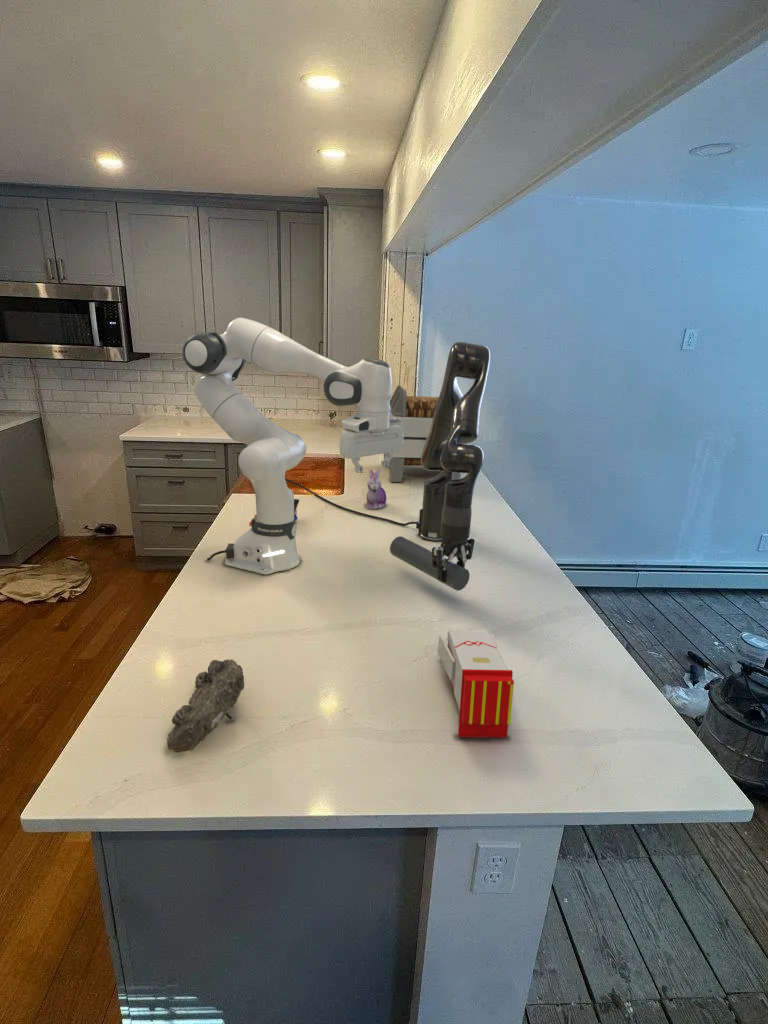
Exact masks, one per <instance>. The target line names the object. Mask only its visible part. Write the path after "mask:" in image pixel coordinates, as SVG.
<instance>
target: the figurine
mask: <svg viewBox="0 0 768 1024" xmlns="http://www.w3.org/2000/svg"><path fill="white" fill-rule="evenodd" d="M380 475H381V468H378V469H377V470H376V471H375V472H373V470H372V469H369V470H368V476H369V479H368V481H367V483H366V485H367V488H368V490H367V491H366V502H365V507H366V508H367V509H370V510H377V509H382V508H384V507H386V503H387V493H386V491H385V489H384V488H383V487H382V481H381V479H380Z"/></svg>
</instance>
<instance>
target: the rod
mask: <svg viewBox="0 0 768 1024" xmlns="http://www.w3.org/2000/svg"><path fill="white" fill-rule="evenodd" d="M389 552H390V554H391V555H392V556H393V557H395V558H398V560H400V561H402V562H404V563H405V564H408V565H410V566H411V567H413V568H415V569H417V570H419V571H420V572H422V573H424V574H426V575H428V576H430V577H431V578H433V579H435V580H437V581H439V580H438V579H437V576H438V569H436V568H434V567H432V550H430V549H428V548H426V547H424V546H421V545H420V544H418V543H415V542H414V541H412V540H410V539H408V538H406V537H404V536H400V535H399V536H397V537H395V538H394V539H393V540H392V541H391V542H390V546H389ZM444 563H445V561H443V563H442V565H444ZM446 570H447V573H446V582H444V583H443V584H444V585H445V586H448V587H449V588H452V589H453V590H455V591H462V590H463V589H465V588H466V586H467V585H468V583H469V581H470V575H471V574H470V571H469V569H467V568H466V567H465V568H463V567H461V566H459V565H457V563H455V562H453V561H451V563H449V564H448V566H447V569H446Z"/></svg>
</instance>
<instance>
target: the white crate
mask: <svg viewBox="0 0 768 1024" xmlns="http://www.w3.org/2000/svg"><path fill="white" fill-rule="evenodd" d="M407 394H408V393H407V390H406V389H404V388H403V387H402V385H399V384H398V385H397V386H396V388H395V390H394V392H393V394H392V395H391V397H390V408H391V414H390V419H395V418H399V419H400V420H401V421H402V423H403V436H404V447H403V449H402V450H401V451H396V452H393V456H392V458H391V460H390V462H389V467H388V468H389V475H388V476H389V477H388V478H389V480H390V482H391V483H402V482H403V475H404V469H405V466H406V467H407V466H411V467H412V466H413V467H415V466H416V467H417V466H418V467H422V464H421V454H422V450H423V447H424V444H425V441H426V439H427V437H428V434H429V431H430V428H431V424H432V420H433V416H434V412H435V408H436V404H437V401H438V398H439V396H415V395H414V396H413V395H412V396H411V395H407ZM399 422H400V421H399ZM447 440H448V439H446V440H445V441H443V442H442V443H446V442H447ZM385 456H386V455H385V454H383V459H384V458H385ZM440 472H441V471H439V473H440ZM461 474H462V473H458V472H453V476H452V480H455V479H461Z"/></svg>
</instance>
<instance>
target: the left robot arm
mask: <svg viewBox="0 0 768 1024" xmlns="http://www.w3.org/2000/svg"><path fill="white" fill-rule="evenodd" d="M181 354H182V358H183V361H184V363H185V364H186V366H187V367H188V368H189V369H190V370H192V371H194V372H196V373H199V374H200V375H201V376H200V378H199V379H198V380H197V382H196V384H195V387H194V394H195V397H196V398H197V400H198V401H199V403H200V405H201V406H202V407H203V409H204V410H205V412H206V413H207V414H208V415H209V416H210V417H211V418H212V419H213V421H214V422H215V423H216V424H217V425H218V426H219V427H220V428H221V429H222V430H223V432H225V434H227V436H229V437H230V439H232V440H233V441H235V442H238V443H241V444H244V445H245V446H246V447H244V449H242V450H241V452H240V453H239V455H238V468H239V470H240V472H241V473H242V475H243V476H244V477H245V478H246V479H248V480H249V481H250V484H251V485H252V488H253V492H254V497H255V510H256V514H255V515H254V517H253V518H252V519H251V520H250V521H249V523H248V527H249V528H250V527H251V528H250V529H248V530H247V531H246V532H244V533H243V534H241V535H240V536H239V537H238V538H237V539H236V540H235V542H234V543H230V542H229V543H228V544H227V545H226V548H225V549H224V550H220V551H217V552H214V553H213V554H211V555H210V556H209V557H207V558H206V561H207V562H208V561H211V560H212V559H213V558H215V557H216V556H218V555H221V554H225V559H224V564H225V566H229V567H231V568H232V567H233V568H236V569H240V570H245V571H249V572H253V573H257V574H261V575H271V574H273V573H276V572H283V571H287V570H290V569H291V570H292V569H293V568H295V567H297V566H298V565H299V564H300V563H301V558H300V555H299V552H298V547H297V541H296V540H297V539H296V536H297V523H296V522H297V520H296V519H295V517H294V499H295V495H294V494H295V493H294V492H293V491H292V489H290V487H288V484H287V481H286V480H285V479H286V476H285V475H286V472H287V471H290V470H292V469H295V467H297V466H298V465H299V464H300V463H301V462H302V461H303V460H304V459H305V456H306V454H307V445H306V442H305V440H304V439H303V438H302V437H301V436H300V435H299V434H297V433H295V432H291V431H289V430H287V429H285V428H284V427H282V426H280V425H279V424H277V423H276V422H275V421H273V420H271V419H269V418H268V417H267V416H265V415H264V414H263V413H262V412H261V411H259V409H258V408H257V407H256V406H255V405H254V404H253V403H251V401H249V399H248V398H247V397H246V396H245V395H244V394H243V393H242V392H241V391H240V390H239V389H238V388H237V387H236V386H235V384H234V381H236V380H237V379H238V377H239V375H240V373H241V372H242V371H243V369H244V367H245V365H246V362H249V363H251V364H252V365H254V366H256V367H259V368H260V369H263V370H265V371H269V372H272V373H276V374H291V373H293V374H294V373H300V374H306V375H310V376H313V377H315V378H318V379H320V380H322V381H324V383H323V393H324V396H325V398H326V399H327V401H328V402H329V403H331V404H332V405H334V406H337V407H348V406H352V405H355V406H357V412H356V413H354V414H353V415H351V416H349V417H346V418H345V419H343V420H342V421H341V427H342V428H343V429H342V431H341V433H340V437H339V454H340V455H341V457H342V458H344V459H347V460H351V462H352V464H353V466H354V472H355V473H356V474H360V473H363V471H364V470H363V469H364V466H363V465H361V464H360V461H361V458H364V457H370V456H377V455H384V454H385V455H386V456H385V458H384V457H383V460H381V462H380V464H381V465H380V468H383V469H388V468H390V467H389V462H390V460H391V458H392V456H393V452H396V451H401V450H402V449H403V447H404V436H403V423H402V421H401V420H400V419H399V418H395V419H390V414H391V408H390V400H391V398H392V391H393V388H392V386H393V383H392V382H393V381H392V378H393V377H392V370H391V367H390V365H389V363H388V362H386V361H384V360H381V359H378V358H372V357H364V358H362V359H361V360H360V361H358V362H357V363H355V364H352V365H348V364H343V363H341V362H339V361H337V360H335V359H332V358H330V357H328V356H325V355H323V354H320V353H318V352H316V351H314V350H312V349H310V348H308V347H307V346H304V345H303V344H301V343H299V342H298V341H296V340H294V339H292V338H290V337H289V336H287V335H285V334H283V333H282V332H280V331H278V330H276V329H275V328H272V327H270V326H268V325H266V324H263V323H261V322H259V321H256V320H253V319H250V318H245V317H237V318H235V319H233V320H231V322H230V323H229V324H228V325H227V327H226V330H225V331H224V333H221V334H219V332H216V331H212V332H203V333H198V334H194V335H192V336H190V337H188V338H187V339H186V340H185V342H184V343H183V345H182V353H181ZM399 421H400V422H399Z"/></svg>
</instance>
